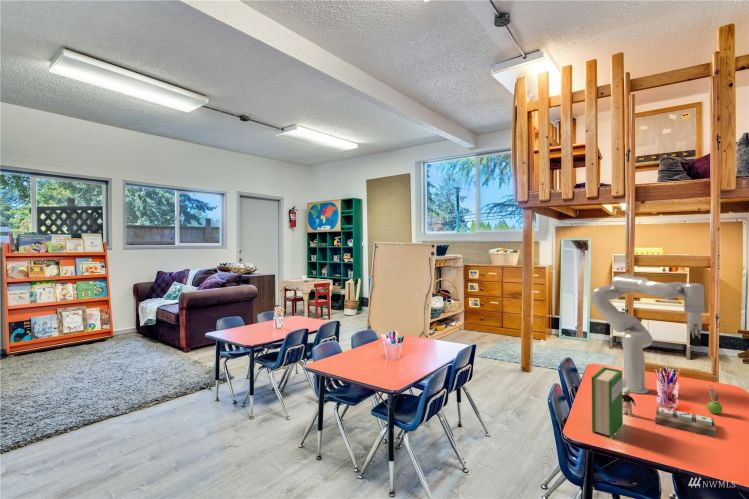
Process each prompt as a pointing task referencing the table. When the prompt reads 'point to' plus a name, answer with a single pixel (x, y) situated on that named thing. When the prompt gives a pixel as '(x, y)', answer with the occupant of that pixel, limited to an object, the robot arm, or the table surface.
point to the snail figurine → (714, 403)
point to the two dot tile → (666, 412)
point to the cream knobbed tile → (703, 420)
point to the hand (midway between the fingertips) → (695, 344)
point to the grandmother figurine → (627, 402)
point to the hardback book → (607, 401)
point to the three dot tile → (684, 416)
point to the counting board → (685, 424)
